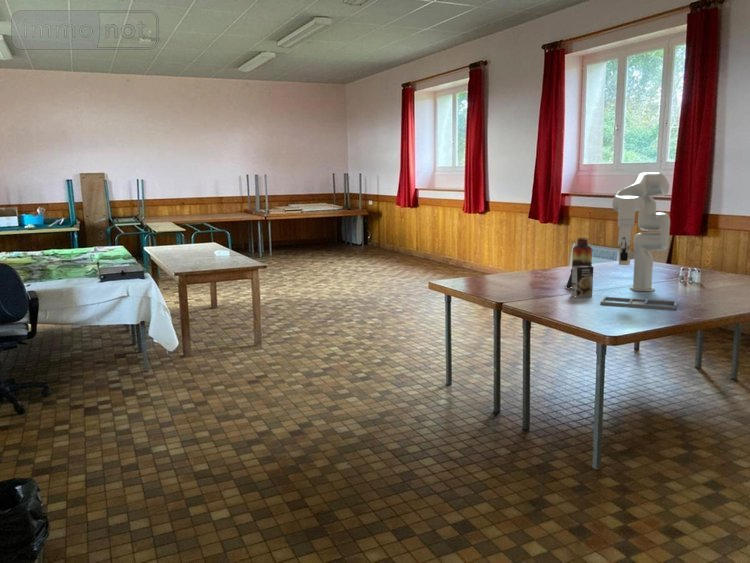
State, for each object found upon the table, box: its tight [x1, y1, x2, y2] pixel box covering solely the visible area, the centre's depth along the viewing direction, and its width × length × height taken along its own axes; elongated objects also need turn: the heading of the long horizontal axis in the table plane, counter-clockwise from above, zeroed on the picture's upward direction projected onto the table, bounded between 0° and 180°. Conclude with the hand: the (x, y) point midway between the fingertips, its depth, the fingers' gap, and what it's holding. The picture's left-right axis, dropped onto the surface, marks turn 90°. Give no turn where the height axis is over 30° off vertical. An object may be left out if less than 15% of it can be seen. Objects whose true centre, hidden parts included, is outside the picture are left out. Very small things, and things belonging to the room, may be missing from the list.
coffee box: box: [570, 265, 594, 298], centre depth 325 cm, size 9×6×16 cm
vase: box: [571, 237, 593, 267], centre depth 366 cm, size 11×11×26 cm
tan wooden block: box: [618, 247, 631, 266], centre depth 302 cm, size 4×4×8 cm
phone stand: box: [565, 268, 572, 288], centre depth 346 cm, size 9×6×12 cm, turn 44°
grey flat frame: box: [599, 296, 678, 311], centre depth 302 cm, size 14×34×2 cm, turn 62°
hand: (624, 259), depth 302 cm, fingers closed on tan wooden block, 4 cm apart
